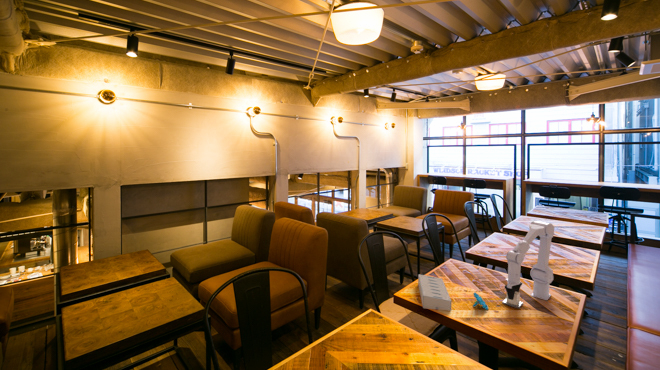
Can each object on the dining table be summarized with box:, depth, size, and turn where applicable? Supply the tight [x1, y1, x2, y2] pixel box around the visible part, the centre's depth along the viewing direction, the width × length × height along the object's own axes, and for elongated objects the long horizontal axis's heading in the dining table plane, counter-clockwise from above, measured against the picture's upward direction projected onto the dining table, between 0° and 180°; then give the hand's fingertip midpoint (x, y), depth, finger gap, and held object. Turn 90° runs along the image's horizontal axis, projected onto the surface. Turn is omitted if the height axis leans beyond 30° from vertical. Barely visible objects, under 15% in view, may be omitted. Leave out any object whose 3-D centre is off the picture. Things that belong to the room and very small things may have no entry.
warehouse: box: [417, 274, 452, 312], centre depth 173 cm, size 30×14×8 cm, turn 168°
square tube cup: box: [505, 291, 521, 305], centre depth 163 cm, size 5×5×6 cm
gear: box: [472, 292, 489, 311], centre depth 161 cm, size 11×6×10 cm
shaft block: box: [502, 298, 524, 310], centre depth 164 cm, size 8×8×6 cm
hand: (513, 296), depth 163 cm, fingers open, 7 cm apart
